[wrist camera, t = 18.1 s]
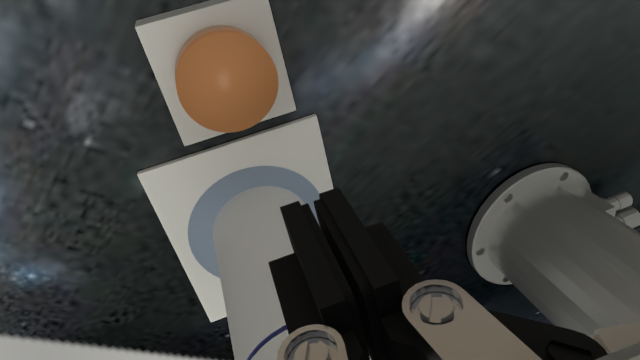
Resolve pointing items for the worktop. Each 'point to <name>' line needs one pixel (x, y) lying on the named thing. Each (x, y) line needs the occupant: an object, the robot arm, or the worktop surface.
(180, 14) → the button housing
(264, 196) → the cylindrical container
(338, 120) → the worktop surface
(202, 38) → the button
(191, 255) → the white flat plate
